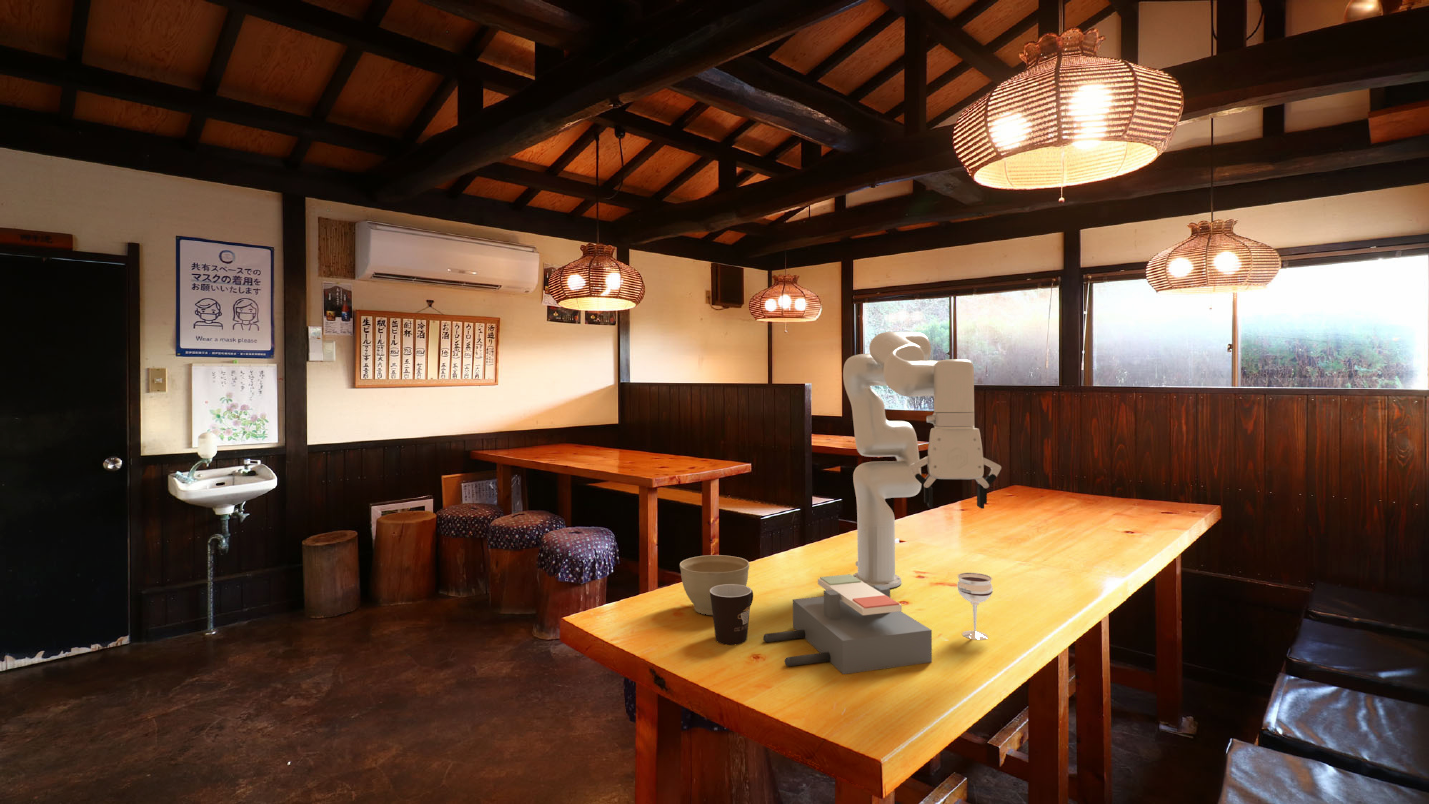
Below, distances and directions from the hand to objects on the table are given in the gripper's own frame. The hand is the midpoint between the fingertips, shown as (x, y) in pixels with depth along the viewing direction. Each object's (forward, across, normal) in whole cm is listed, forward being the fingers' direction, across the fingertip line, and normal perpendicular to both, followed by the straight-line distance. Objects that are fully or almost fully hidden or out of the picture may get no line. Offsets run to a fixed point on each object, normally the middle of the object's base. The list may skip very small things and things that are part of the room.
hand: (955, 507), depth 130 cm
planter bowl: (+27, -51, +13) cm, 59 cm away
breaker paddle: (+17, -20, -4) cm, 26 cm away
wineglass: (+27, +4, +4) cm, 28 cm away
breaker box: (+27, -23, -5) cm, 36 cm away
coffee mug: (+27, -44, -4) cm, 52 cm away
